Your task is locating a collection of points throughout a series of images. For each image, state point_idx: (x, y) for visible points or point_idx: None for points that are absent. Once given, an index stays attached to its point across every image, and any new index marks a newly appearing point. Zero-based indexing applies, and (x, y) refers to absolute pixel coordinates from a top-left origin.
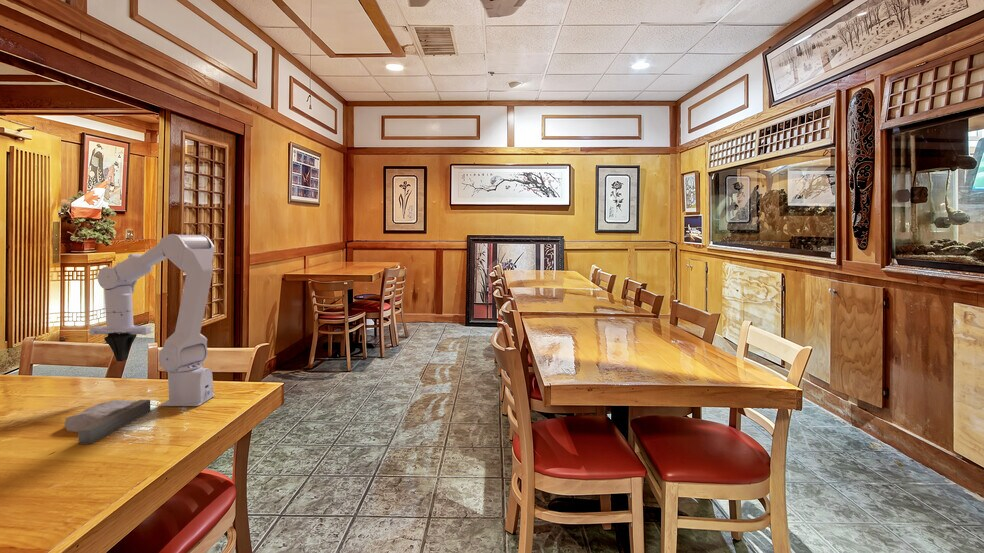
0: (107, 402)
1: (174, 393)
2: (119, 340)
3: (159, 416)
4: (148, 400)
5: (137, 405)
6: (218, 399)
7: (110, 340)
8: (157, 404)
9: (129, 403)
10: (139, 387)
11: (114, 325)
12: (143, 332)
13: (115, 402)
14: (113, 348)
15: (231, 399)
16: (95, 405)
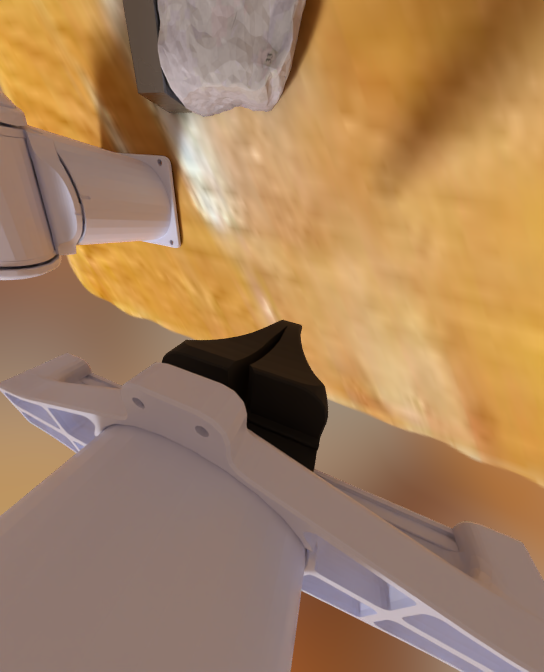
0: (249, 54)
1: (111, 151)
2: (211, 347)
3: (123, 58)
4: (136, 81)
5: (127, 1)
6: None
7: (274, 366)
8: (190, 185)
9: (164, 30)
10: None
11: (88, 496)
12: (55, 366)
13: (213, 37)
14: (289, 347)
15: None
16: (287, 34)
